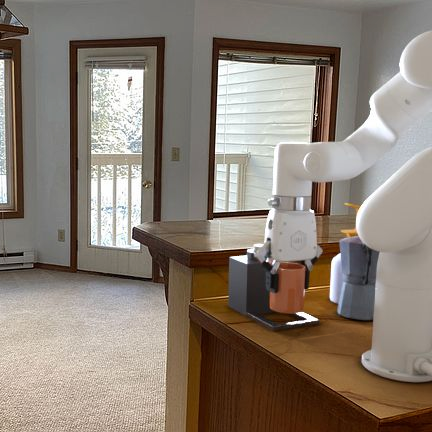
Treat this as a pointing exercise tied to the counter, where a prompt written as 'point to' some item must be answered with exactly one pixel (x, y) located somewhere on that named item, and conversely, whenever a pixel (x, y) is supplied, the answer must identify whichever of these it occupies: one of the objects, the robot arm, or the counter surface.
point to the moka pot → (357, 279)
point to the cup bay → (274, 326)
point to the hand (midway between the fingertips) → (287, 288)
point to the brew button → (257, 247)
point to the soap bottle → (337, 268)
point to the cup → (289, 289)
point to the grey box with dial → (248, 285)
